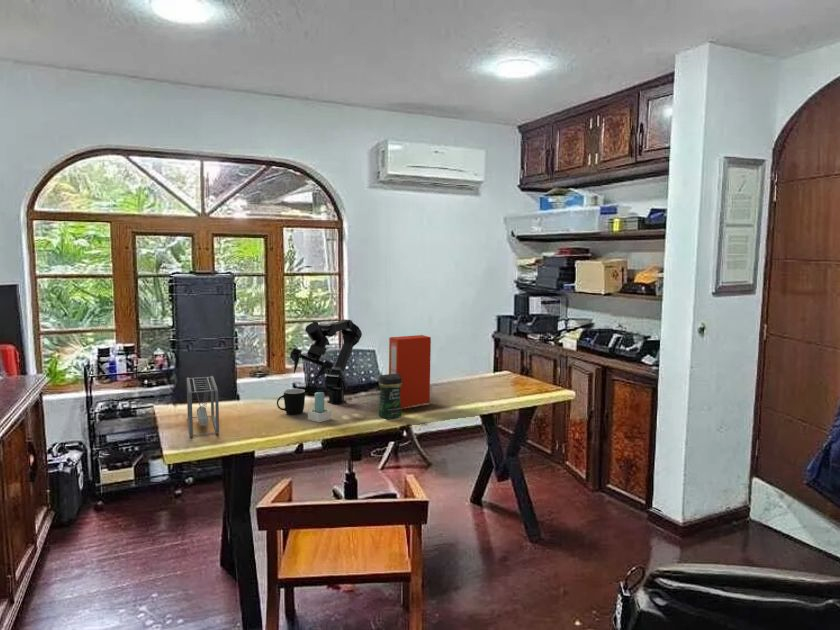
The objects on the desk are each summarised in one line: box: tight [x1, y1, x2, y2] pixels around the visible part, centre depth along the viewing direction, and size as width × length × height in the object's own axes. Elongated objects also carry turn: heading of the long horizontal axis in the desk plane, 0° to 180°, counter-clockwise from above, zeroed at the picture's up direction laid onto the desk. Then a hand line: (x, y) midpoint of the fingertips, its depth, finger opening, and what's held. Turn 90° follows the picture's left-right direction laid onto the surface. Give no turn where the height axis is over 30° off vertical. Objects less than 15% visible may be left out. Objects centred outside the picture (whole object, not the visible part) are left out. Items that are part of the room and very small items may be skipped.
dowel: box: [314, 391, 325, 413], centre depth 244 cm, size 4×4×11 cm
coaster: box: [341, 413, 366, 422], centre depth 248 cm, size 10×10×1 cm
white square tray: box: [307, 408, 332, 423], centre depth 245 cm, size 7×7×4 cm
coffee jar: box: [377, 373, 402, 420], centre depth 250 cm, size 10×8×19 cm
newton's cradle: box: [186, 375, 220, 438], centre depth 234 cm, size 30×10×18 cm, turn 23°
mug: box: [276, 388, 306, 416], centre depth 253 cm, size 12×9×10 cm
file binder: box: [388, 334, 432, 408], centre depth 267 cm, size 8×17×32 cm, turn 121°
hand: (304, 376), depth 247 cm, fingers open, 9 cm apart
